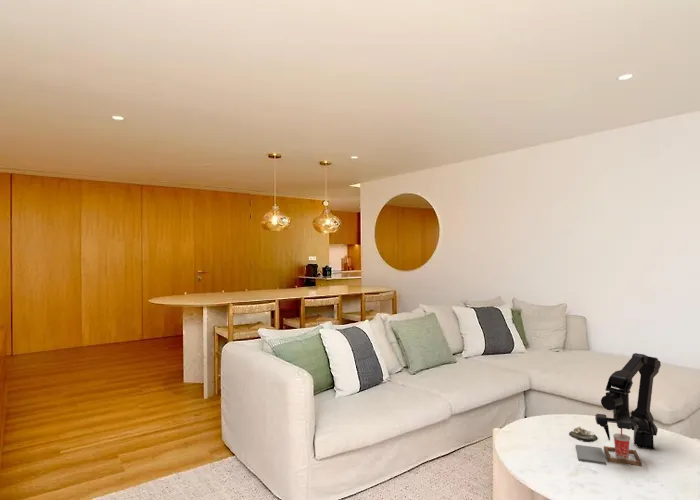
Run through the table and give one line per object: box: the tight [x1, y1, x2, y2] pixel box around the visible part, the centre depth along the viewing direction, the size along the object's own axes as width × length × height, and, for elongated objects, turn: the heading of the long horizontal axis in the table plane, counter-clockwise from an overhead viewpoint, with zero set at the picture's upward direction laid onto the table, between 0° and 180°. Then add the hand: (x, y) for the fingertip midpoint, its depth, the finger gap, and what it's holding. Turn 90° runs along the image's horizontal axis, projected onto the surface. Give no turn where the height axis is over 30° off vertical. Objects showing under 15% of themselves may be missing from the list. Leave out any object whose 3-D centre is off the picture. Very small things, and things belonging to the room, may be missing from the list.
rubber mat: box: [575, 444, 607, 465], centre depth 189 cm, size 10×14×1 cm
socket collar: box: [603, 445, 643, 468], centre depth 186 cm, size 12×12×2 cm
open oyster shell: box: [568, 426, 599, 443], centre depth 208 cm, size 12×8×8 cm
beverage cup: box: [612, 428, 631, 460], centre depth 186 cm, size 6×6×14 cm
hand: (621, 442), depth 187 cm, fingers open, 9 cm apart
